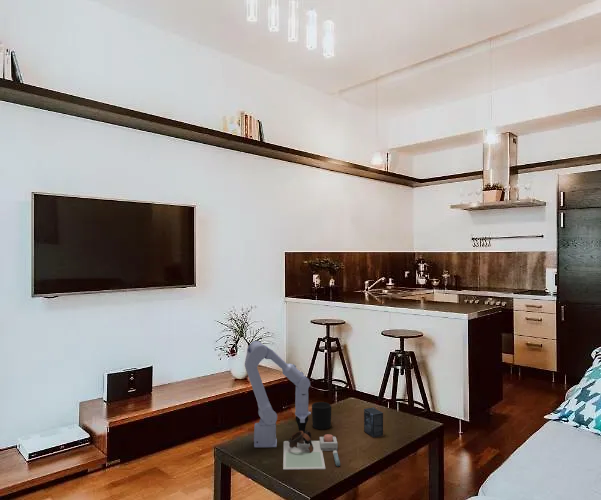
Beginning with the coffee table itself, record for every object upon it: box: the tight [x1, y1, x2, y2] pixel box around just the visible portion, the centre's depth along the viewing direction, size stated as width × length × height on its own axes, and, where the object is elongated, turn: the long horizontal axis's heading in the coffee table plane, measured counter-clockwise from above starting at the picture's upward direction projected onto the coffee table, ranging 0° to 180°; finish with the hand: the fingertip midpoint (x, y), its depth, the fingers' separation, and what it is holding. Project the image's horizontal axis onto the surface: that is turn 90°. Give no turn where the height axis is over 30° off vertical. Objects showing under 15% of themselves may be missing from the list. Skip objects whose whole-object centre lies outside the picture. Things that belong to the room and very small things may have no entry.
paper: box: [282, 440, 326, 471], centre depth 182 cm, size 16×26×1 cm, turn 2°
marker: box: [332, 450, 341, 467], centre depth 176 cm, size 2×10×2 cm, turn 2°
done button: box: [323, 433, 334, 442], centre depth 189 cm, size 4×4×3 cm
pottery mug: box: [287, 429, 313, 453], centre depth 187 cm, size 12×10×8 cm
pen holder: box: [311, 401, 332, 430], centre depth 213 cm, size 9×9×10 cm
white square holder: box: [319, 436, 338, 452], centre depth 189 cm, size 7×7×3 cm
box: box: [363, 407, 384, 438], centre depth 204 cm, size 8×6×11 cm
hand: (301, 433), depth 197 cm, fingers closed
